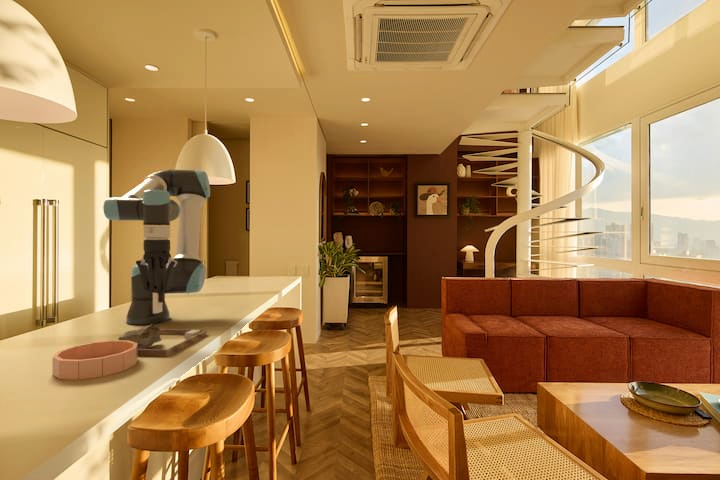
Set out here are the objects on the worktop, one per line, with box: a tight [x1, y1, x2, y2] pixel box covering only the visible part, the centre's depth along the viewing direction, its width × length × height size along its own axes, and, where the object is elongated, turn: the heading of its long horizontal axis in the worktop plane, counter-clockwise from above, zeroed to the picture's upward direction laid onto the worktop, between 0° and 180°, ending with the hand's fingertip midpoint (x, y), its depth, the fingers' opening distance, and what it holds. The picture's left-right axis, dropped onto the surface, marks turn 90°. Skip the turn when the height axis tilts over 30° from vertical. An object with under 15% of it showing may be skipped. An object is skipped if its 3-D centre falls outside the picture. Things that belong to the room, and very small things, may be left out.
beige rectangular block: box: [184, 329, 201, 340], centre depth 126 cm, size 4×3×2 cm
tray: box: [138, 328, 208, 358], centre depth 119 cm, size 23×21×2 cm
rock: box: [117, 323, 162, 349], centre depth 113 cm, size 11×6×10 cm
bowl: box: [51, 339, 139, 381], centre depth 98 cm, size 18×18×4 cm
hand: (157, 312), depth 119 cm, fingers closed
